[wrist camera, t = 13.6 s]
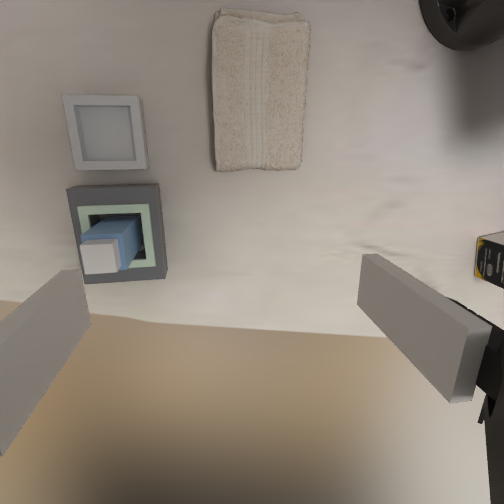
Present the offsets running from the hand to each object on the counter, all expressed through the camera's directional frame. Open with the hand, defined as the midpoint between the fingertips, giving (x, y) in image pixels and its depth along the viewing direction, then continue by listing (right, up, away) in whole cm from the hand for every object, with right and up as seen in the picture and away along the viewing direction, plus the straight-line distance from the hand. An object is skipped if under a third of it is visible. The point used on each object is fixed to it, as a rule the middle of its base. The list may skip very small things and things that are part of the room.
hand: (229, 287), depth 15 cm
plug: (-16, +5, +27) cm, 32 cm away
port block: (-16, +5, +27) cm, 32 cm away
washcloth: (+2, +21, +26) cm, 33 cm away
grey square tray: (-16, +16, +23) cm, 33 cm away
